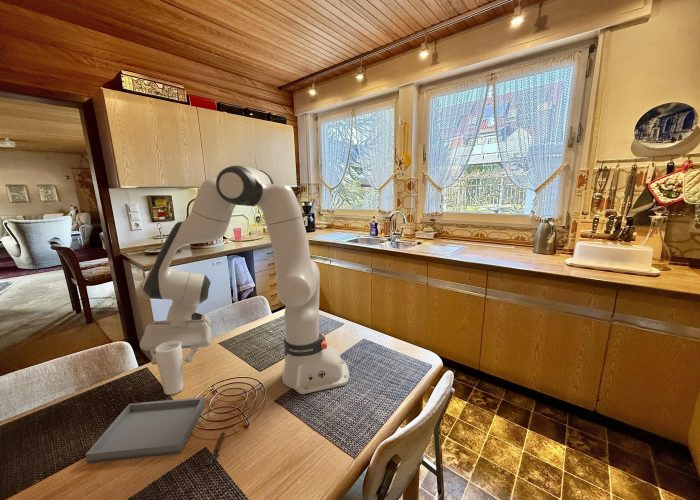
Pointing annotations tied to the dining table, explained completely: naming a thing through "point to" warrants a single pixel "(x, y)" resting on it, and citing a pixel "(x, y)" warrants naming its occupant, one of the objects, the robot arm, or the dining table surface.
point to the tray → (148, 430)
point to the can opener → (216, 448)
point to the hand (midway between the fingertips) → (171, 362)
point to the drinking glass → (170, 366)
